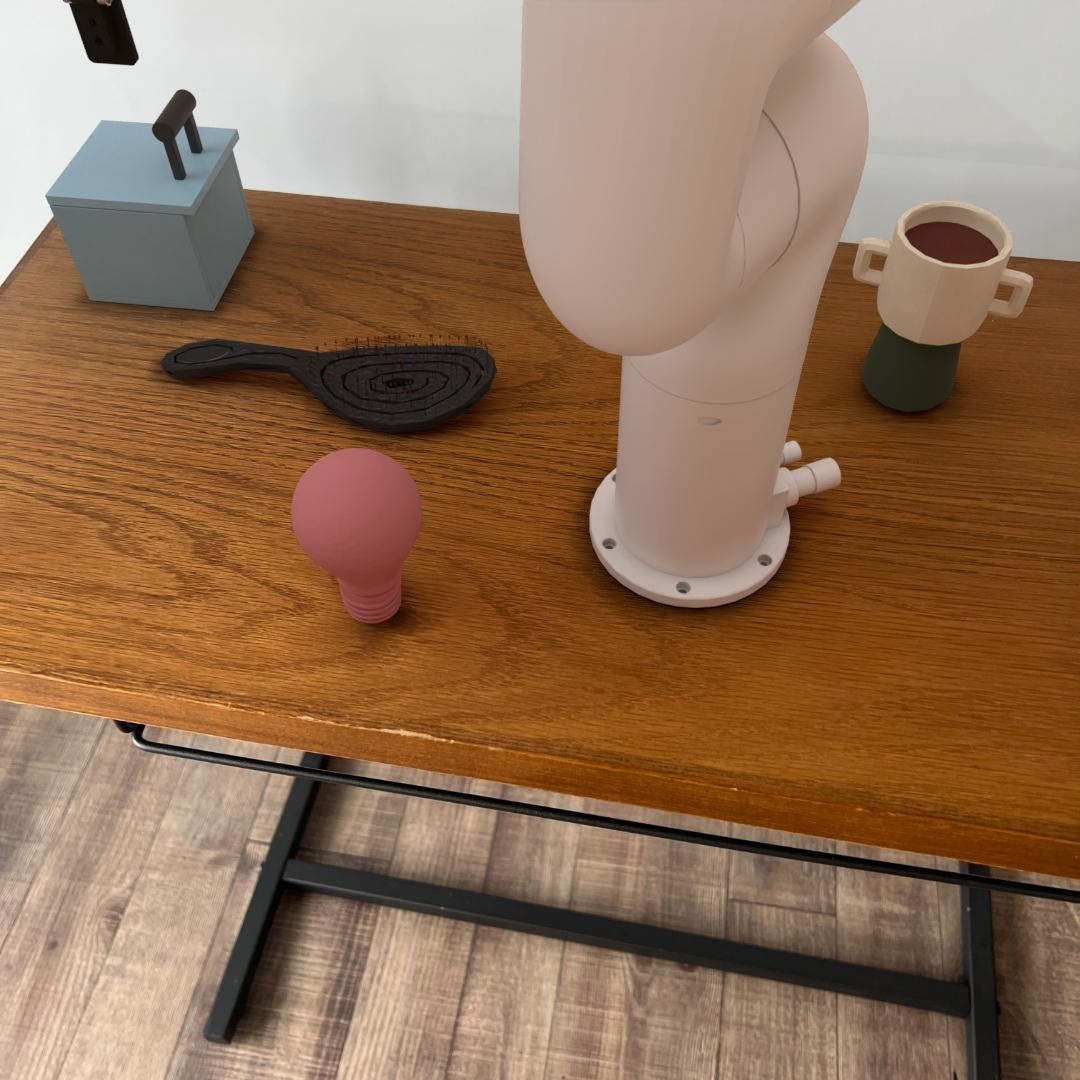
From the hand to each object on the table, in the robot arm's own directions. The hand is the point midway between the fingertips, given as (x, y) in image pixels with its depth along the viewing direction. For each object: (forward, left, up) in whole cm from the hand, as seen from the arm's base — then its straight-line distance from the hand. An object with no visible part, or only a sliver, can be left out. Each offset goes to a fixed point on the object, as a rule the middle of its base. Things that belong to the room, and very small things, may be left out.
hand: (143, 24), depth 71 cm
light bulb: (-3, +37, -20) cm, 42 cm away
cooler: (+3, -2, -20) cm, 20 cm away
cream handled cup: (-43, +33, -20) cm, 57 cm away
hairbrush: (-5, +16, -20) cm, 26 cm away
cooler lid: (+3, -2, -11) cm, 12 cm away
